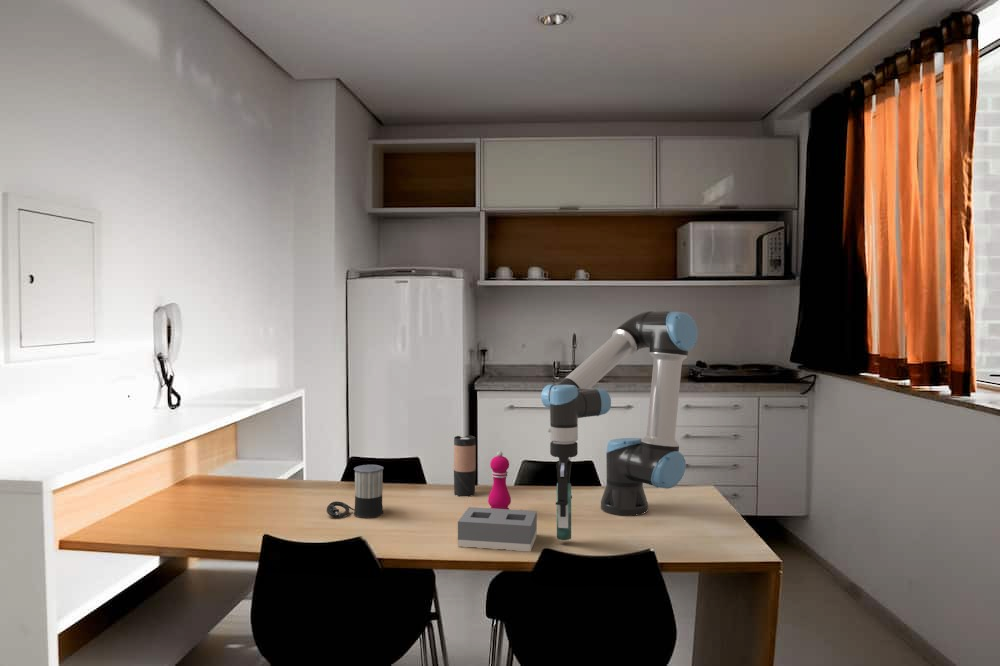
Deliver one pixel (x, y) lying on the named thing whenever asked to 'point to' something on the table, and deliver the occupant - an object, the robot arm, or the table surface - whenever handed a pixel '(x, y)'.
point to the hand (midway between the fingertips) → (563, 524)
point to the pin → (566, 532)
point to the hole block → (498, 529)
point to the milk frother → (364, 493)
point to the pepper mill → (499, 483)
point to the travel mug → (464, 465)
